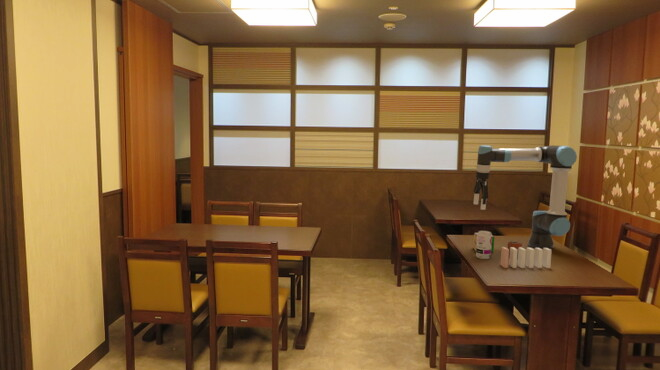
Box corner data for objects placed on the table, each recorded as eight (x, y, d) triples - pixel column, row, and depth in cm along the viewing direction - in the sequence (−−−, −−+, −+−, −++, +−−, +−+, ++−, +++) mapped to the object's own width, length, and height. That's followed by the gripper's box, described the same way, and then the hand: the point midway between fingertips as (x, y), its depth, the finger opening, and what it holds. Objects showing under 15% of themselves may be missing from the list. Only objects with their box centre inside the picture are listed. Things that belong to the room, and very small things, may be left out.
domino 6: (545, 265, 263) (547, 247, 262) (550, 268, 258) (551, 250, 257) (542, 265, 263) (543, 247, 262) (546, 268, 258) (547, 249, 257)
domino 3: (520, 265, 263) (522, 247, 262) (524, 268, 258) (526, 249, 257) (517, 265, 263) (518, 247, 262) (521, 267, 258) (522, 249, 257)
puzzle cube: (489, 249, 299) (490, 233, 298) (493, 253, 289) (494, 236, 288) (473, 248, 300) (474, 232, 299) (476, 252, 290) (477, 236, 289)
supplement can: (490, 256, 280) (492, 231, 278) (490, 260, 272) (492, 234, 271) (476, 255, 283) (477, 230, 281) (475, 258, 275) (477, 232, 273)
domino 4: (529, 265, 263) (530, 247, 262) (533, 268, 258) (534, 249, 257) (525, 265, 263) (526, 247, 262) (529, 268, 258) (530, 249, 257)
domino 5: (537, 265, 263) (538, 247, 262) (541, 268, 258) (543, 249, 257) (533, 265, 263) (535, 247, 262) (538, 268, 258) (539, 249, 257)
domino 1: (504, 265, 262) (505, 247, 261) (507, 267, 257) (509, 249, 256) (500, 265, 262) (501, 247, 261) (504, 267, 257) (505, 249, 256)
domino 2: (512, 265, 263) (513, 247, 262) (516, 267, 258) (517, 249, 257) (508, 265, 263) (510, 247, 261) (512, 267, 258) (513, 249, 256)
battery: (506, 256, 281) (507, 240, 279) (518, 257, 280) (519, 240, 279) (509, 258, 276) (510, 241, 275) (521, 259, 276) (522, 242, 275)
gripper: (470, 168, 296) (467, 202, 300) (483, 174, 272) (479, 211, 276) (482, 168, 296) (479, 202, 300) (496, 175, 272) (492, 212, 276)
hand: (479, 206), depth 288 cm, fingers open, 13 cm apart
